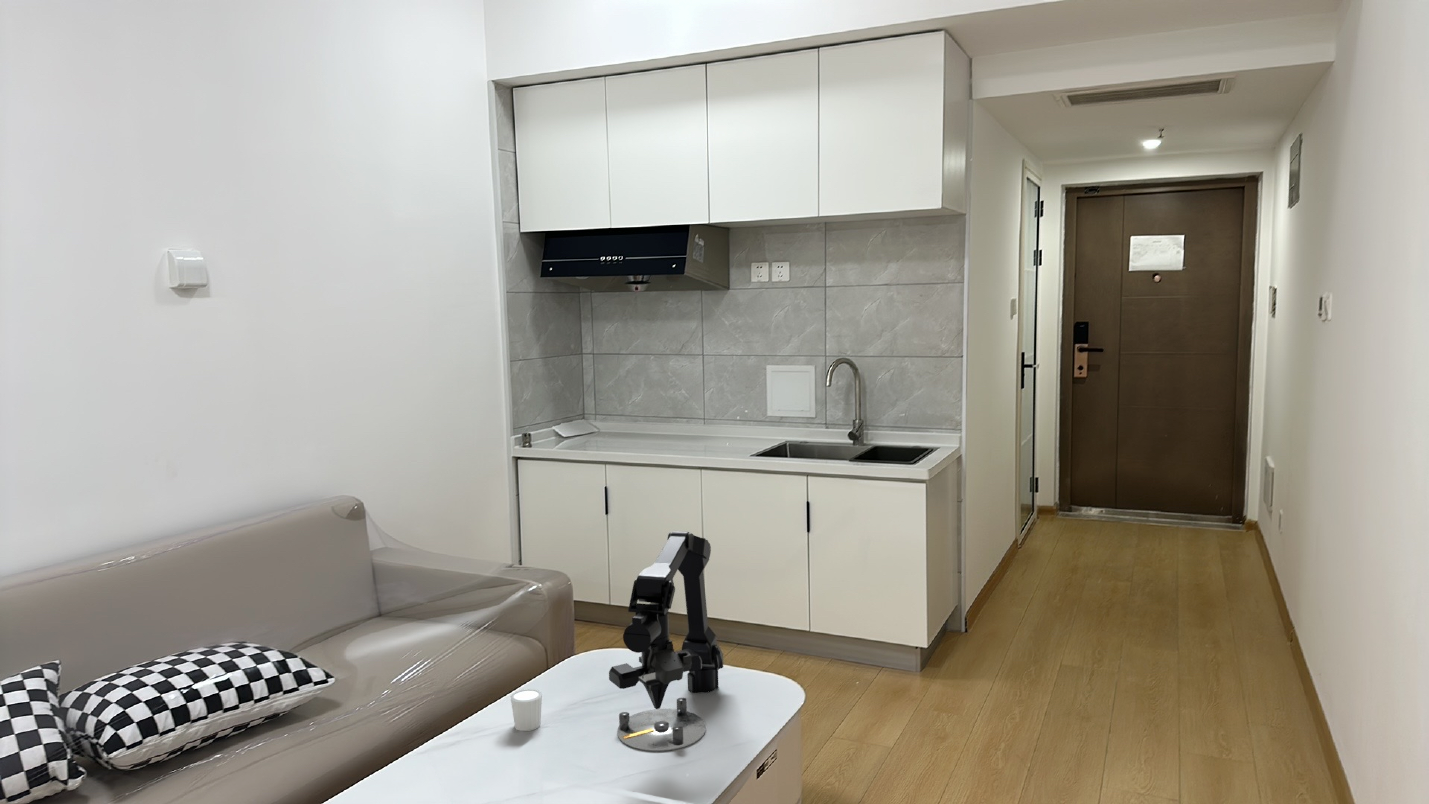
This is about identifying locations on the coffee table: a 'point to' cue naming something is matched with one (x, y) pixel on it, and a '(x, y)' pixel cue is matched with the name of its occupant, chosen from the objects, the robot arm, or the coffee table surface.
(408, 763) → the coffee table surface
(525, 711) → the shot glass
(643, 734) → the capstan dial
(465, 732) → the coffee table surface
